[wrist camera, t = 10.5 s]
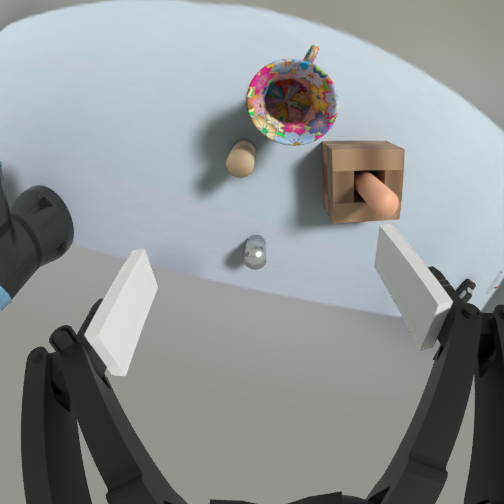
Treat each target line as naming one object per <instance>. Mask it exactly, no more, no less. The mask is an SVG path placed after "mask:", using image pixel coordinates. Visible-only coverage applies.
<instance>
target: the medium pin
mask: <svg viewBox="0 0 504 504" xmlns="http://www.w3.org/2000/svg"><path fill="white" fill-rule="evenodd" d="M254 161H255V147H254V145H253V144H252V143H251V142H250V141H247V140H240V141H238V142H237V143H235V145H234V146H233V148H232V150H231V152H230V154H229V156H228V158H227V160H226V168H227V170H228V172H229V173H230V174H231V175H233V176H234V177H238V178H242V177H246V176H248V175H249V174H250V173H251V172H252V171H253V168H254Z"/></svg>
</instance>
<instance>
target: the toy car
mask: <svg viewBox="0 0 504 504" xmlns="http://www.w3.org/2000/svg"><path fill="white" fill-rule="evenodd" d="M462 283H464V284H461V287H460V289H459V290H458V291H457V294H458V295H459V296H460V298H461V299H462V301H463V302H464V303H467V302H468V301H469V300H470V298H471V297H472V291H473V290H474V288H476V287H475V286H476V284H475V283H473V282H472V281H471V280H470V279H467V280H466V281H465V282H462ZM494 288H497V287H494ZM477 289H478V288H477ZM491 289H493V288H491Z"/></svg>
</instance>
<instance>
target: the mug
mask: <svg viewBox="0 0 504 504" xmlns="http://www.w3.org/2000/svg"><path fill="white" fill-rule="evenodd" d="M318 50H319V47H318V46H316V45H312V46H311V47H310V49H309V51H308V52H307V54H306V56H305V58H304V59H303V60H300V59H282V60H278V61H275V62H272V63H270V64H268V65H266V66H265V67H263V68H262V69H261V70H260V71H259V72H258V73H257V74H256V75H255V76H254V78H253V79H252V81H251V83H250V85H249V88H248V92H247V109H248V113H249V116H250V118H251V120H252V122H253V124H254V125H255V126H256V128H257V129H258V130H259V131H260V132H261V133H262V134H263V135H265V136H266V137H267V138H269V139H271V140H273V141H275V142H278V143H281V144H285V145H304V144H308V143H311V142H313V141H316V140H317V139H319V138H321V137H322V136H323V135H324V134H326V133H327V132H328V131H329V129H330V128H331V127H332V125H333V124H334V122H335V119H336V117H337V114H338V108H339V99H338V94H337V90H336V88H335V85H334V83H333V82H332V80H331V79H330V77H329V76H328V75H327V74H326V73H325V72H324V71H323V70H322V69H320V68H319V67H318V66H316V65H314V64H313V62H314V60H315V58H316V55H317V53H318Z"/></svg>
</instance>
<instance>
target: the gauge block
mask: <svg viewBox="0 0 504 504" xmlns="http://www.w3.org/2000/svg"><path fill="white" fill-rule="evenodd" d="M322 151H323V176H324V207H325V209H326V211H327V213H328V215H329V217H330V219H331V221H332V223H333V224H336V223H350V222H364V221H379V220H395V219H399V218H400V209H401V199H402V188H403V173H404V149H402V148H400V147H398V146H396V145H394V144H392V143H390V142H387V141H324V142H322ZM359 170H369V172H370V173H371V174H372V175H374V176H375V177H376V178H377V179H378V180H380V181H381V182H382V183H383V184H384V185H386V186H387V187H388V188H389V189H390V190H391V191H392V192H394V193H395V194H396V195H397V197H398V200H399V205H398V208H397V210H396V212H395V213H394V214H393V215H391V216H390V217H385V218H384V217H380V216H378V215H377V214H376V213H375V212H374V210H373V209H372V208H371V207H370V206H369V205H368V203H367V202H366V201H365V200H364V199H363V198H362V196H361V195H360V194H359V193H358V192H357V191H356V190H355V189H354V171H359Z"/></svg>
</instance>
